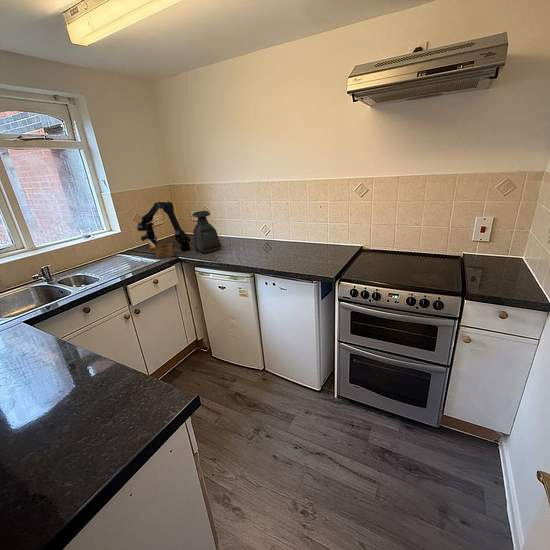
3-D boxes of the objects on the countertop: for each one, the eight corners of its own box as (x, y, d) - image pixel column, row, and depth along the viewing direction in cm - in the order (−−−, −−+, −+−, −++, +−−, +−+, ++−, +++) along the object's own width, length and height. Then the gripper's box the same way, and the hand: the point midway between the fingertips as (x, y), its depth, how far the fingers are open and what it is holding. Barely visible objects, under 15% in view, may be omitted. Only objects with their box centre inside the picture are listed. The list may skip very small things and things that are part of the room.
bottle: (222, 249, 231) (215, 211, 220) (202, 255, 223) (194, 215, 212) (213, 246, 245) (206, 209, 234) (194, 250, 237) (186, 213, 226)
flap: (154, 248, 223) (154, 249, 223) (155, 245, 234) (154, 245, 234) (148, 242, 220) (147, 242, 220) (148, 239, 231) (148, 239, 231)
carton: (157, 259, 226) (154, 249, 223) (157, 255, 237) (155, 246, 234) (174, 255, 230) (172, 246, 227) (174, 251, 240) (172, 243, 238)
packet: (159, 248, 256) (158, 245, 255) (159, 249, 252) (158, 246, 251) (150, 250, 254) (149, 247, 253) (150, 251, 250) (149, 248, 249)
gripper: (140, 230, 253) (145, 248, 259) (138, 234, 237) (143, 253, 242) (154, 228, 256) (158, 245, 262) (153, 232, 240) (158, 250, 245)
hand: (154, 248), depth 253 cm, fingers open, 7 cm apart
